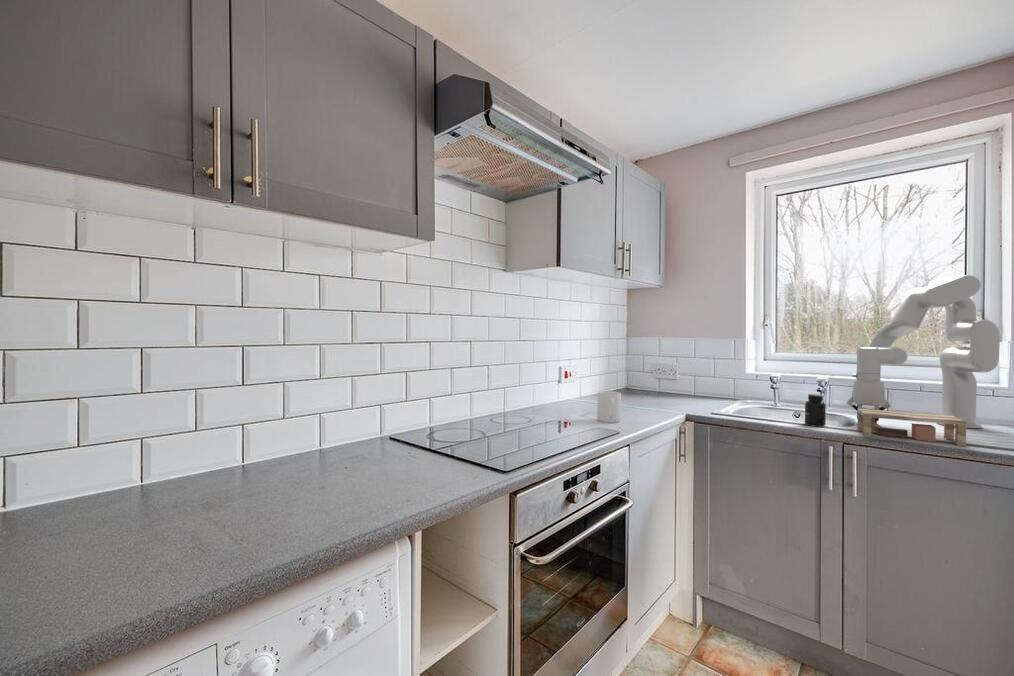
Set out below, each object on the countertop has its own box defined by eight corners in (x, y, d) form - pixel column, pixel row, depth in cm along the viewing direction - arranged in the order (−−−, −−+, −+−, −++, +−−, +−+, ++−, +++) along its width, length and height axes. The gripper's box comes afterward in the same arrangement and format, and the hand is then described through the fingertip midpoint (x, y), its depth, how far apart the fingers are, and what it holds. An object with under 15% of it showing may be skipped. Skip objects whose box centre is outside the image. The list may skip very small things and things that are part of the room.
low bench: (857, 430, 165) (857, 408, 165) (951, 438, 152) (952, 415, 152) (863, 436, 155) (864, 413, 154) (965, 446, 141) (966, 421, 141)
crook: (860, 422, 180) (860, 407, 180) (888, 424, 176) (889, 409, 176) (874, 434, 158) (874, 418, 158) (907, 437, 153) (907, 420, 153)
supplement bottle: (800, 423, 176) (801, 394, 176) (811, 422, 179) (811, 393, 179) (818, 427, 170) (819, 396, 169) (829, 425, 172) (829, 395, 172)
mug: (614, 418, 185) (614, 390, 185) (628, 424, 173) (628, 394, 173) (593, 419, 183) (593, 391, 182) (606, 425, 171) (606, 395, 171)
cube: (911, 437, 154) (911, 423, 154) (930, 439, 152) (930, 424, 152) (915, 440, 150) (915, 425, 150) (935, 442, 147) (935, 427, 147)
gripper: (844, 376, 178) (843, 421, 178) (897, 379, 170) (897, 426, 170) (841, 375, 185) (840, 418, 185) (892, 377, 176) (892, 422, 176)
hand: (867, 421), depth 177 cm, fingers closed on crook, 4 cm apart
